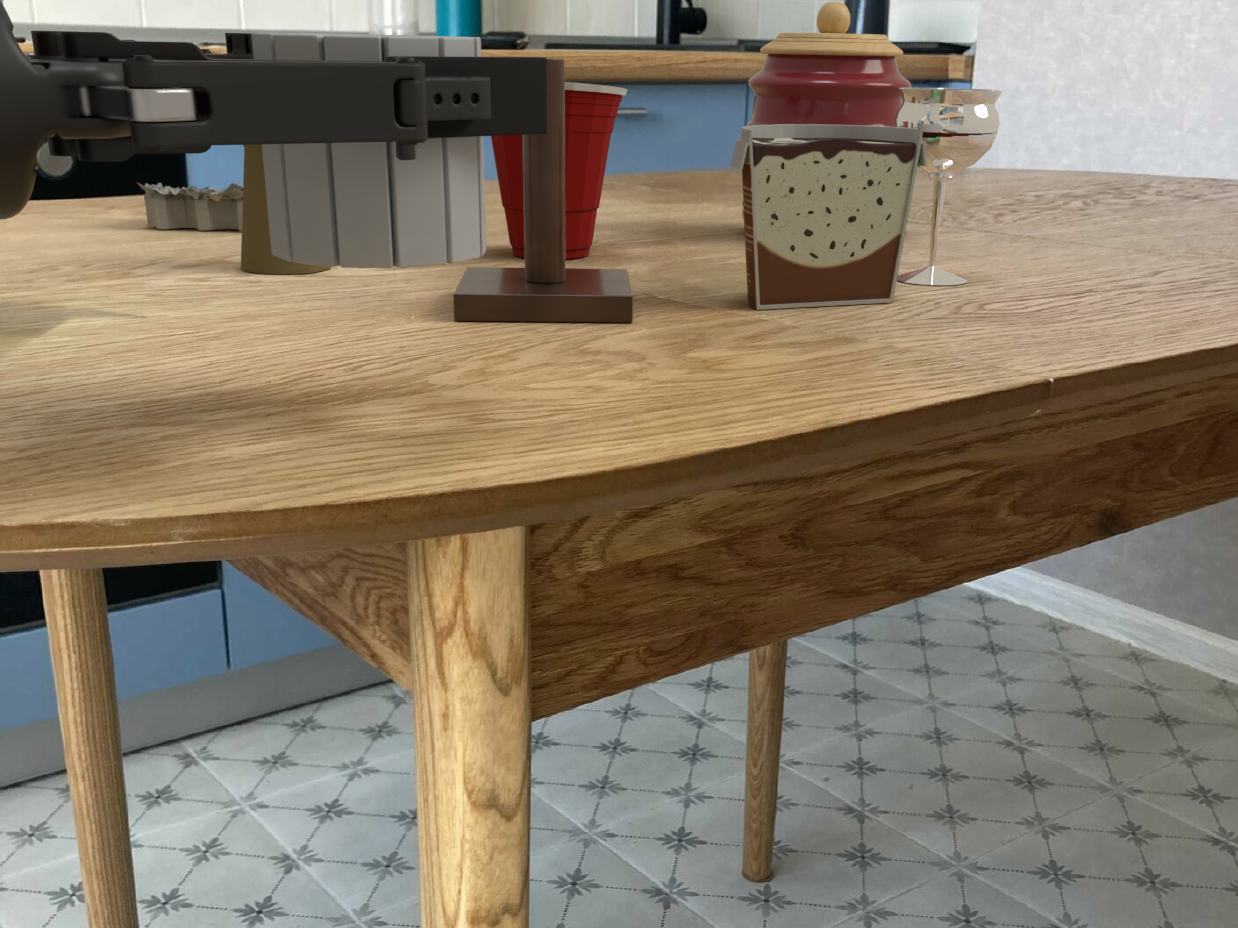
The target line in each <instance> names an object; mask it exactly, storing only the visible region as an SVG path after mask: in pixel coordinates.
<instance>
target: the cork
mask: <svg viewBox="0 0 1238 928" xmlns="http://www.w3.org/2000/svg"><path fill="white" fill-rule="evenodd" d="M242 146H243V148H244V150H243V152H244V153H243V181H242V185H243V209H242V232H241V245H240V246H241V247H240V252H241V253H240V269H241V270H242V271H243V272H248V273H255V274H263V275H298V274H299V275H300V274H301V275H302V274H312V273H320V272H324V271H328V270H330V269H332V267H328V266H319V265H310V264H302V263H295V262H289V261H286V260H284V259H282V258H279V257H277V256H274V255H273V254H272V251H271V240H270V230H269V219H268V208H267V197H266V186H265V175H264V164H263V153H262V144H255V145H242Z"/></svg>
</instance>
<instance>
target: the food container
mask: <svg viewBox="0 0 1238 928" xmlns="http://www.w3.org/2000/svg"><path fill="white" fill-rule="evenodd" d="M922 133H923V129H915V128H902V127H885V126H862V125H824V124H777V125H753V126H746V125H745V126H741V129H740V137H739V138H736V140H735V144H734V148H733V153H732V158H731V161H730V166H731V167H732V168H736V169H740V170H741V179H742V180H741V181H742V182H741V183H742V203H743V205H744V220H743V228H744V227H745V231H744V242H745V243H744V247H745V248H744V249H745V270H746V273H745V274H746V291H747V295H746V296H747V305H748V306H749V307H750V308H752V309H754V310H756V311H759V310H761V311H762V310H777V309H778V310H779V309H795V308H796V309H797V308H813V307H814V308H816V307H817V308H818V307H834V306H835V307H836V306H851V305H854V306H855V305H870V304H889V303H894V299H895V294H896V293H895V292H896V287H897V282H898V280H897V276H898V275H899V269H900V265H901V258H902V253H903V249H904V248H903V247H904V242H905V237H906V231H907V225H908V221H909V214H910V208H911V203H912V197H913V193H914V186H915V182H916V176H917V169H918V166H927V159H926V144H925V141H922ZM917 165H918V166H917ZM743 205H742V206H743Z"/></svg>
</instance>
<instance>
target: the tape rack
mask: <svg viewBox="0 0 1238 928" xmlns="http://www.w3.org/2000/svg"><path fill="white" fill-rule="evenodd" d="M545 58H546V63H547V134H527V135H522V137H523V197H524V256H525V257H524V267H495V266H493V267H492V266H491V267H489V266H488V267H487V266H486V267H485V266H482V267H481V266H467V267H466V268H465V271H464V272H463V274H462V276H461V279H460V280H459V283H458V284H457V286H456V289H455V291H454V292H453V294H452V302H453V320H454V321H455V322H513V323H514V322H516V323H517V322H518V323H519V322H521V323H524V322H525V323H527V322H529V323H612V324H613V323H614V324H615V323H616V324H617V323H618V324H622V323H623V324H625V323H626V324H627V323H628V324H629V323H631V324H632V323H633V316H634V315H633V313H634V312H633V311H634V310H633V308H634V304H633V303H634V297H633V292H632V287H631V282H630V278H629V273H628V269H627V268H579V267H578V268H576V267H575V268H572V267H571V268H570V267H569V268H568V267H566V266H567V265H566V262H567V261H566V260H567V259H566V256H565V82H566V81H565V80H566V79H565V78H566V77H565V75H566V72H565V69H566V67H565V65H566V63H565V62H566V60H565V58H554V57H553V58H551V57H548V58H547V57H545Z"/></svg>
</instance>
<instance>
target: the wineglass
mask: <svg viewBox="0 0 1238 928" xmlns="http://www.w3.org/2000/svg"><path fill="white" fill-rule="evenodd" d="M898 89H899V91H900V93H901V96H902V100H903V101H902V105H901V107H900V108H899V110H898V111H897V114H896V117H895V121H894V123H895V127H902V128H915V129H923V133H922V141H925V144H926V159H927V166H918V165H917V168H920V169H921V170H922V171H925V173H928V175H927V176H928V178H929V180H930V181H933V182H934V183H933V197H932V198H933V199H932V212H931V213H932V215H931V229H930V243H929V244H930V246H929V261H928V266H926V267H922V268H918V269H916V270H915V269H914V270H912V271H908V272H905V273H901V274H898V276H897V282H902V283H907V284H914V285H924V286H956V285H957V286H959V285H964V284H967V283H968V280H967V279H965V278H963V277H961V276H959V275H956V274H954V273H951V272H948V271H946V270H945V269H941V268H938V267H937V266H935V265H936V258H937V251H938V245H939V238H940V237H939V236H940V231H941V223H942V216H943V209H944V204H945V203H944V202H945V196H946V195H945V194H946V189H947V188H946V187H947V183H948V182H950V181H951V182H952V180H953V179H954V178H955V174H957V173H959V172H961V171H963V170H965V169H967V168H969V167H971V166H973V165H975V164H976V163H978V162H979V161H980V160H981V158H982V157H984V156H985V155H986V153H988V152H989V151H990V150H991V149H992V147H993V145H994V142H995V140H996V139H997V135H998V131H999V127H1000V115H999V112H998V110H997V107H996V103H997V102H998V100H999V98H1000V96H1002V95H1001V94H1002V92H1003V90H1001V89H989V88H988V89H987V88H962V87H961V88H960V87H955V88H954V87H911V88H898Z"/></svg>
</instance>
